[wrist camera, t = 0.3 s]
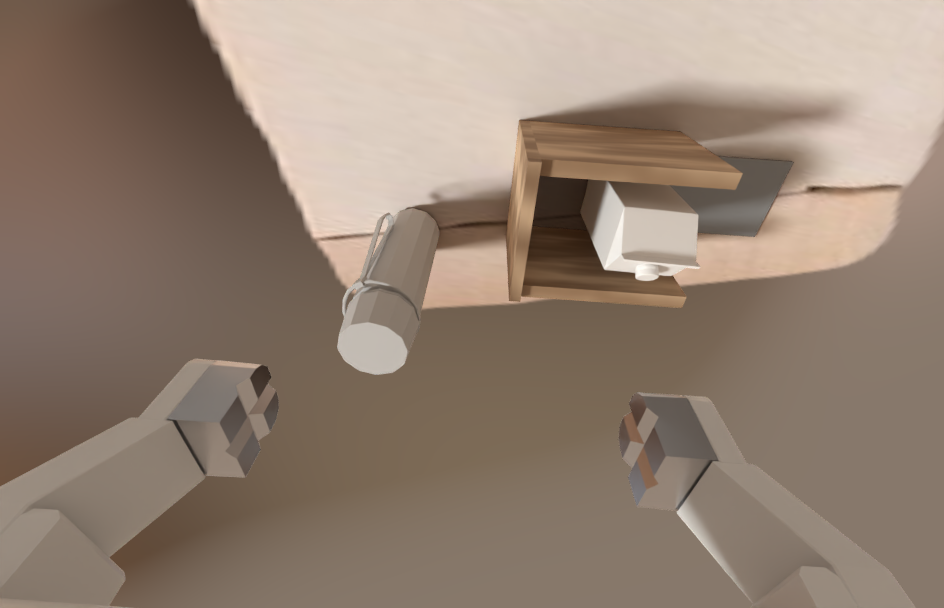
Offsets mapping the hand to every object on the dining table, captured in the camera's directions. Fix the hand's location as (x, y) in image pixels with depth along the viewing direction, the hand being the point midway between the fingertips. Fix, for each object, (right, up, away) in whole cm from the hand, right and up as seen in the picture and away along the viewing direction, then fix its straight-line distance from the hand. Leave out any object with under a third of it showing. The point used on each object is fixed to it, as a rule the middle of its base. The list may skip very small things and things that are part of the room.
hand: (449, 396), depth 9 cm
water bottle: (-8, +13, +48) cm, 50 cm away
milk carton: (+19, +17, +44) cm, 50 cm away
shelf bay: (+16, +17, +43) cm, 49 cm away
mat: (+32, +16, +43) cm, 56 cm away
